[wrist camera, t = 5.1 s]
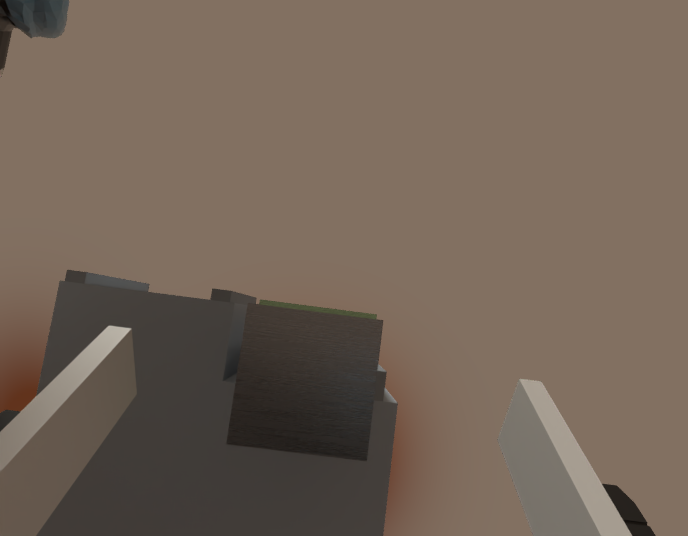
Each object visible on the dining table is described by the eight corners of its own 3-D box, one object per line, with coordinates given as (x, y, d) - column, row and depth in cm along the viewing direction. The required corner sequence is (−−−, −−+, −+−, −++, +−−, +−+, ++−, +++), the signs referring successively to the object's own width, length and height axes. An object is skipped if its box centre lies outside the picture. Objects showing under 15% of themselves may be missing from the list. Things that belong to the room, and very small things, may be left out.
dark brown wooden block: (370, 461, 12) (387, 313, 13) (222, 443, 12) (245, 295, 13) (342, 366, 36) (348, 316, 37) (291, 360, 36) (298, 309, 37)
